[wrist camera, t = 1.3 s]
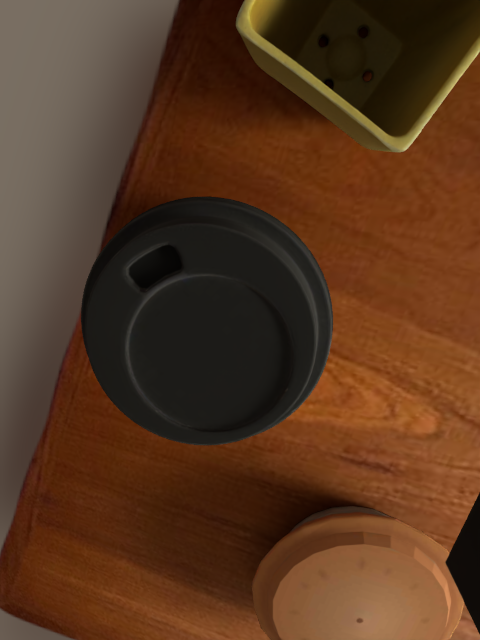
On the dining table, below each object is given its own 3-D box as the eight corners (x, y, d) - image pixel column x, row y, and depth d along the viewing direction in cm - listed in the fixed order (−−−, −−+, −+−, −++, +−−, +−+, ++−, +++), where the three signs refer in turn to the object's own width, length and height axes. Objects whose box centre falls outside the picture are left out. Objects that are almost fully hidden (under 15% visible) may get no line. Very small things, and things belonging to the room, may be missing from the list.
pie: (386, 449, 31) (407, 494, 26) (477, 590, 34) (511, 654, 29) (218, 533, 34) (209, 586, 30) (314, 655, 37) (321, 722, 33)
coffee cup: (213, 168, 27) (146, 131, 12) (333, 251, 27) (402, 307, 13) (141, 288, 29) (16, 375, 15) (253, 360, 30) (238, 508, 16)
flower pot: (457, 36, 24) (564, -58, 15) (359, 171, 26) (402, 156, 17) (333, -64, 23) (371, -225, 14) (243, 84, 25) (228, 24, 17)
